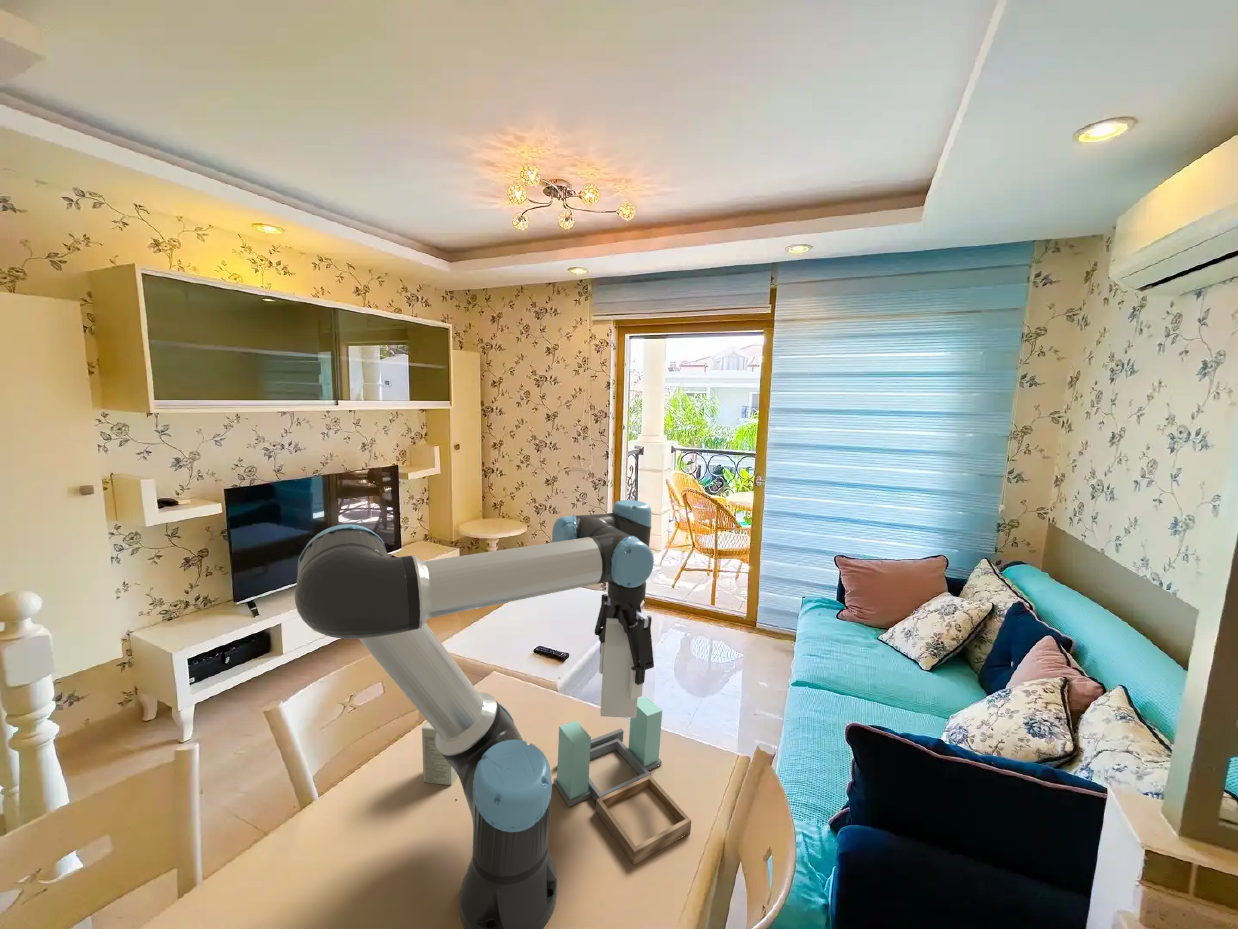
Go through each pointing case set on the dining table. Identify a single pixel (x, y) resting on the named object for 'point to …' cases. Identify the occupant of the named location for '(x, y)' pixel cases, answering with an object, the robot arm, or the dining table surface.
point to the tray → (642, 818)
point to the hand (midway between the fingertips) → (619, 683)
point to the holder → (581, 749)
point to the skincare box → (435, 760)
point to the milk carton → (617, 673)
